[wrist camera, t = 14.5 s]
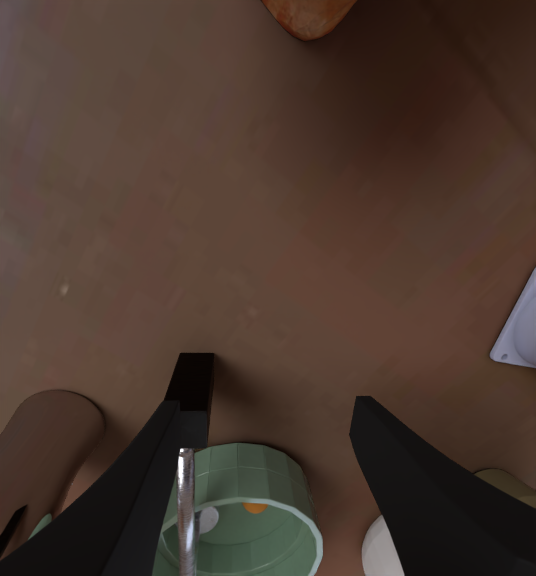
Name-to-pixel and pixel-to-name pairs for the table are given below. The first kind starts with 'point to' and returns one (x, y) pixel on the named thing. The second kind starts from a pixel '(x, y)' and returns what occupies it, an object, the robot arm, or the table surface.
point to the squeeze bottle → (509, 485)
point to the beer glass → (42, 461)
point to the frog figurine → (308, 16)
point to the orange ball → (255, 507)
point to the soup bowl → (247, 516)
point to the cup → (380, 551)
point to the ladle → (192, 450)
